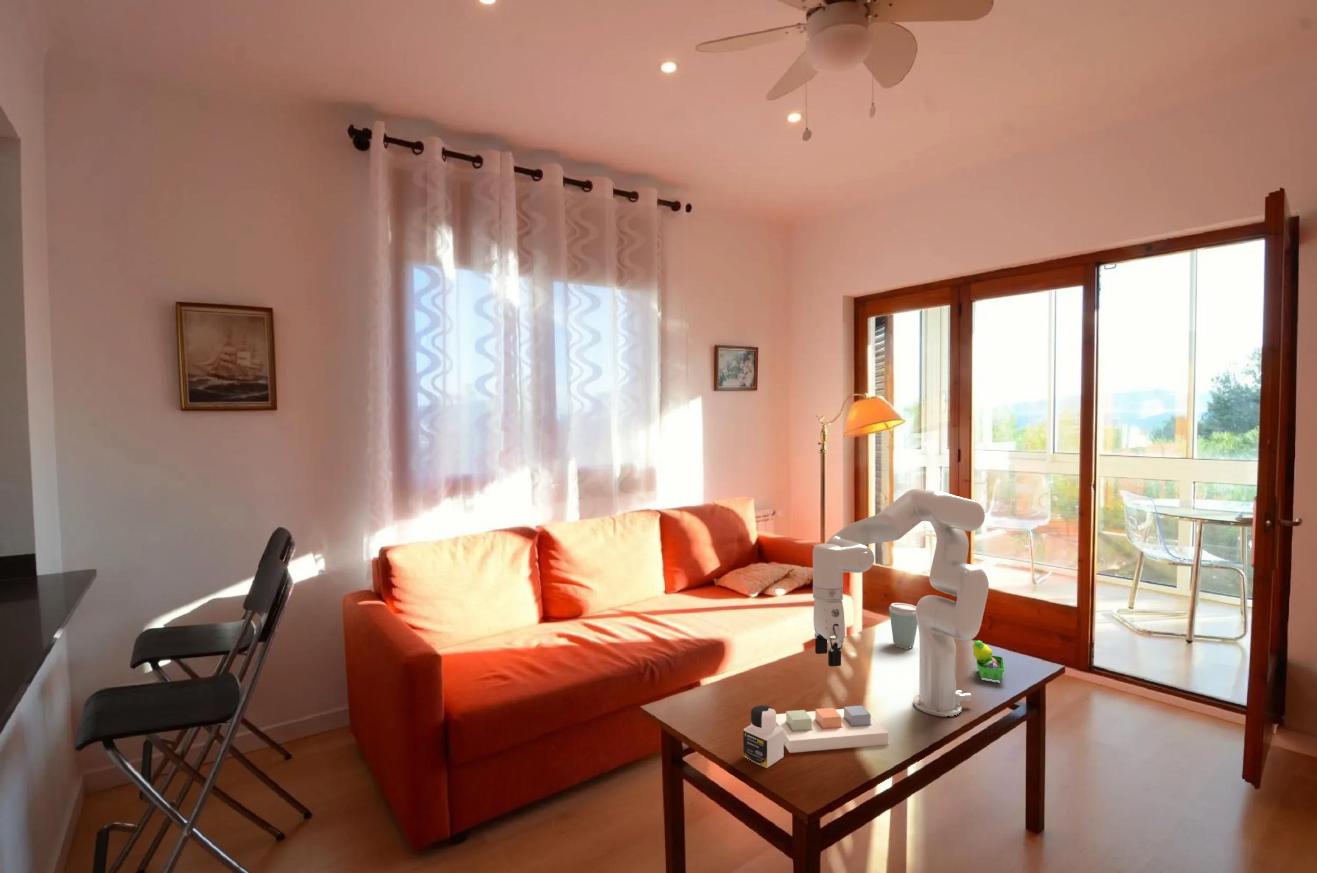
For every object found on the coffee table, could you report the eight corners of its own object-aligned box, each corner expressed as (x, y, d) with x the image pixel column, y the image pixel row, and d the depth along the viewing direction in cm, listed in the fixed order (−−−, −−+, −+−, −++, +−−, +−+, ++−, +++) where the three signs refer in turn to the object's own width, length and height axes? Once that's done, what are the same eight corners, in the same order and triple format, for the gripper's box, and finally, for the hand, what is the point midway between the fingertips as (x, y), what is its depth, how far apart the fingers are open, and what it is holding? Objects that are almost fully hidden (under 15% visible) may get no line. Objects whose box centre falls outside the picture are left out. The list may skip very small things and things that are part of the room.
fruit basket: (1004, 686, 193) (1005, 649, 193) (972, 681, 197) (972, 645, 197) (1002, 672, 204) (1002, 637, 203) (972, 667, 207) (972, 634, 207)
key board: (862, 718, 173) (862, 707, 173) (888, 744, 159) (888, 732, 159) (771, 725, 170) (771, 714, 169) (789, 752, 156) (789, 740, 156)
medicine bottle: (742, 757, 154) (742, 709, 153) (760, 746, 159) (760, 699, 158) (766, 769, 149) (766, 718, 148) (784, 757, 154) (784, 708, 153)
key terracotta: (833, 722, 167) (833, 707, 167) (841, 731, 162) (841, 716, 162) (815, 724, 167) (815, 709, 166) (822, 733, 162) (822, 718, 161)
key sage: (804, 724, 166) (804, 709, 166) (811, 734, 161) (811, 718, 161) (786, 726, 165) (786, 711, 165) (792, 735, 160) (792, 720, 160)
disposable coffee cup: (898, 638, 235) (898, 598, 234) (926, 646, 227) (926, 605, 226) (882, 645, 228) (883, 604, 228) (911, 654, 220) (911, 611, 219)
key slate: (861, 720, 168) (861, 705, 168) (870, 729, 163) (870, 714, 163) (843, 721, 168) (843, 706, 168) (852, 730, 163) (852, 715, 163)
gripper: (856, 601, 155) (856, 671, 156) (827, 583, 173) (827, 646, 173) (827, 602, 154) (827, 673, 155) (801, 584, 172) (801, 648, 172)
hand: (827, 659), depth 164 cm, fingers open, 7 cm apart
